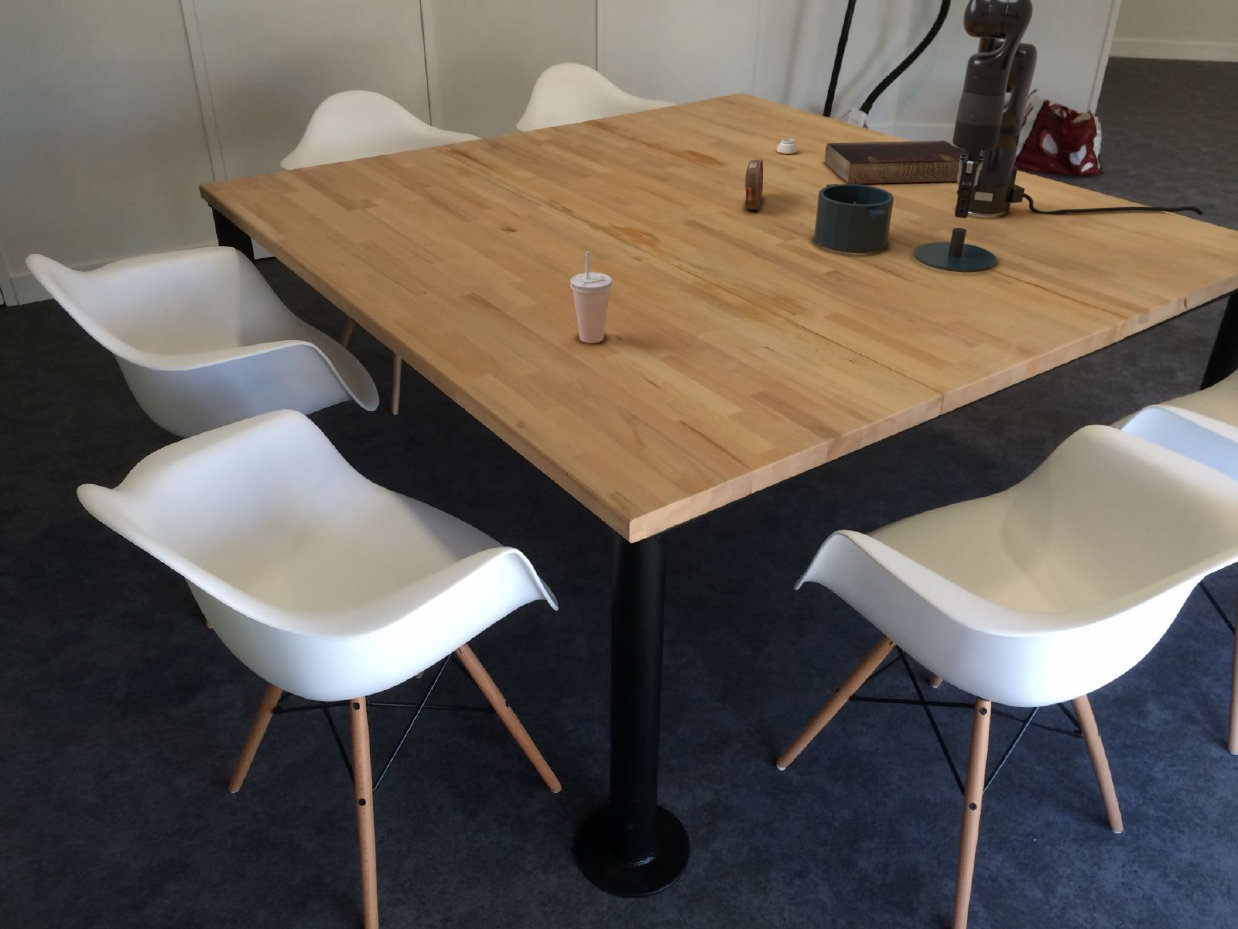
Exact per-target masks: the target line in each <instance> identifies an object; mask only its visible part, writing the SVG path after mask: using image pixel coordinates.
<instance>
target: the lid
mask: <svg viewBox="0 0 1238 929" xmlns="http://www.w3.org/2000/svg"><path fill="white" fill-rule="evenodd" d="M966 236H967V230H966V228H963V227H953V229H952V232H951V238H950V241H934V242H927V243H923V244H921V245H918V246H917V247H916V248H915V249H914V252H913V256H914V257H915V259H916V260H917V261H919V262H920V263H922V264H924V265H926V266H929V267H931V268H934V269H935V268H936V269H938V270H945V271H951V272H958V273H959V272H961V273H971V272H972V273H973V272H982V271H986V270H989V269H991V268H993V267H994V266H995V265H996V264H997V257H996V255H995V254H994V253H993V252H991V251H990V250H987V249H985V248H984V247H980V246H977V245H973V244H969V243H965V240H966Z"/></svg>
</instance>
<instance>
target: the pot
mask: <svg viewBox="0 0 1238 929" xmlns="http://www.w3.org/2000/svg"><path fill="white" fill-rule="evenodd" d="M854 202H856V203H857V204H853V203H854ZM893 205H894V195H893V194H892V193H891V192H889V191H888V190H886V189H883V188H880V187H877V186H873V185H867V184H866V185H865V184H860V183H858V184H848V183H841V184H839V183H831V184H826V186H825V187H823V188H821V189H820V190H819V191H818V197H817V208H816V214H815V215H816V217H815V225H814V234H813V235H814V236H813V237H814V242H815V243H816V244H818V245H819V246H821V247H822V248H825V249H828V250H831V251H835V252H840V253H847V254H848V253H851V254H864V253H875V252H877V251H880V250H883V249H884V248H885V247H886V246H888V240H889V234H890V226H891V220H892V215H893V214H892V212H893Z"/></svg>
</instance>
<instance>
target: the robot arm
mask: <svg viewBox="0 0 1238 929" xmlns="http://www.w3.org/2000/svg"><path fill="white" fill-rule="evenodd" d="M1033 12H1034V7H1033V2H1032V0H968V2H967V5H966V7H965V10H964V12H963V18H962V25H963V28H964V31H965V33H966V34H967V35H968V36H969V37H971V38H978V39H979V40H978V47H977V53H973V54H972V55H970V56H969V58H968V60H967V63H966V69H965V75H964V81H963V86H962V87H963V88H962V91H961V96H960V99H959V102H958V107H957V112H956V119H955V124H954V131H953V136H952V145H953V146H954V147H956V148H958V149H964V150H965V153H966V155H965V154H961V158H960V161H959V174H958V180H957V181H956V183H957V185H958V189H957V190H956V195H957V199H956V206H955V212H954V217H956V218H957V219H958V218H959V219H960V218H961V219H967V218H968V216H969V214H970V215H974V216H982V217H995V216H996V217H998V218H999V217H1002V216H1004V215H1006V214H1009V213H1010V208H1011V204H1018V203H1023V198H1024V199H1026V200H1027V201H1028V208H1029V210H1030V211H1031V212H1032V213H1035V214H1040V215H1062V214H1087V213H1106V212H1108V213H1109V212H1131V211H1132V212H1134V211H1135V212H1140V211H1141V212H1142V211H1144V212H1168V213H1169V212H1170V213H1176V212H1184V211H1185V212H1186V211H1193V212H1195V213H1197V215H1200V216H1204V213H1203V211H1202V210H1201V209H1200V208H1199V207H1196V206H1194V205H1193V206H1192V205H1190V206H1189V205H1186V206H1178V207H1166V206H1165V207H1163V206H1116V207H1115V206H1114V207H1094V208H1093V207H1091V208H1065V209H1057V210H1047V211H1046V210H1045V211H1043V210H1039V209H1037V208H1036V207H1034V200H1033V198H1032V197H1031V196H1030V195H1029V194H1028V193H1025V188H1024V187H1022V186H1020V185H1018V184H1015V183H1016V179H1017V174H1018V166H1016V165H1015V162H1016V157H1017V152H1018V147H1019V142H1020V137H1021V132H1022V128H1023V121H1024V117H1025V113H1026V107H1027V102H1028V98H1029V94H1030V90H1031V87H1032V82H1033V78H1034V74H1035V70H1036V66H1037V60H1038V51H1037V47H1036V46H1035V45H1034V44H1033V43H1028V42H1027V43H1026V42H1022V39H1023V38H1024V35H1025V33H1026V31H1027V29H1028V27H1029V25H1030V23H1031V21H1032V17H1033ZM1006 93H1007V94H1009V97H1008V99H1007V100H1006Z"/></svg>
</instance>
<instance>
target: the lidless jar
mask: <svg viewBox="0 0 1238 929" xmlns="http://www.w3.org/2000/svg"><path fill="white" fill-rule="evenodd" d="M776 152H778V153H780V154H784V155H792V154H796V153H798V146H797V145H796V143H795V139H794V138H781V141H780V142H778V145H777V147H776Z"/></svg>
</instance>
